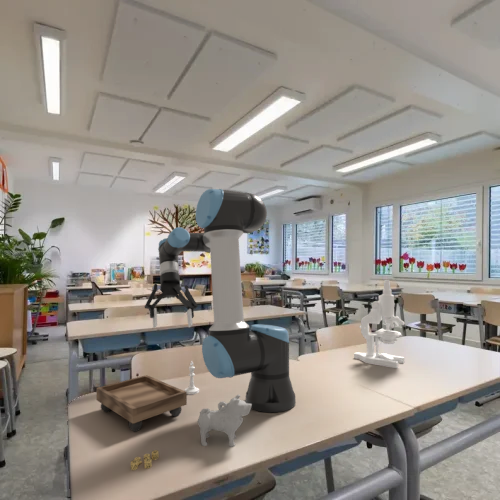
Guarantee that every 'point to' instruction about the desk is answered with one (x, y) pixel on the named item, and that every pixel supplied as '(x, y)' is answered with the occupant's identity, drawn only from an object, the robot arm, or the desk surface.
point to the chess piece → (191, 382)
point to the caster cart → (141, 399)
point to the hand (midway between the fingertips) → (173, 326)
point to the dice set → (145, 460)
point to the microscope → (381, 330)
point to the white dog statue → (223, 419)
